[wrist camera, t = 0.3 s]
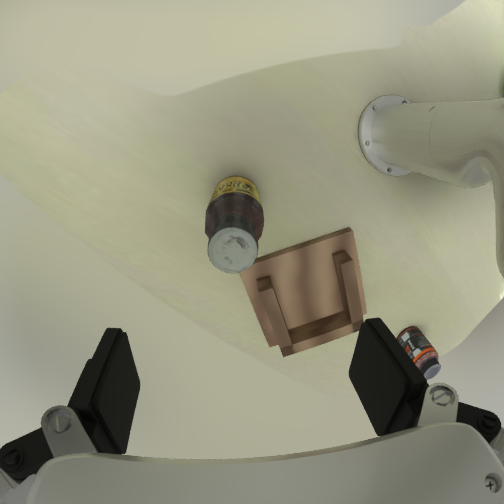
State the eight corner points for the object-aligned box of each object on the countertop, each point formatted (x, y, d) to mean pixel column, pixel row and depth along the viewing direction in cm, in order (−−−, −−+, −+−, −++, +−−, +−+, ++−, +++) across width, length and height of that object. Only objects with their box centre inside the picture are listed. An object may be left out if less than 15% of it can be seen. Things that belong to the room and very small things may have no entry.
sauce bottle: (252, 170, 41) (271, 201, 23) (262, 212, 43) (286, 274, 25) (206, 181, 41) (187, 222, 23) (217, 223, 43) (209, 292, 25)
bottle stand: (349, 227, 45) (363, 239, 40) (363, 308, 51) (375, 326, 46) (237, 264, 46) (239, 281, 41) (268, 341, 52) (272, 362, 47)
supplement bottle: (393, 333, 54) (419, 370, 44) (418, 320, 54) (446, 354, 43) (396, 352, 57) (419, 388, 46) (419, 340, 56) (444, 373, 46)
